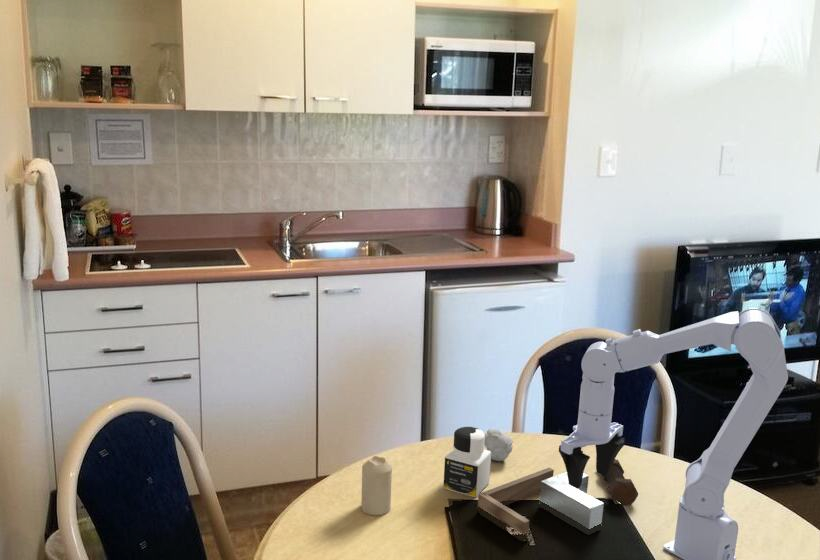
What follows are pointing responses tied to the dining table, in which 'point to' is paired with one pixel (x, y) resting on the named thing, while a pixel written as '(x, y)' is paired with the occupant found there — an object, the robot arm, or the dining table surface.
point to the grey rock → (498, 444)
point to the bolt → (620, 485)
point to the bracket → (572, 500)
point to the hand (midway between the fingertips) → (588, 480)
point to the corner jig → (513, 498)
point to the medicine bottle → (467, 463)
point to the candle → (376, 486)
